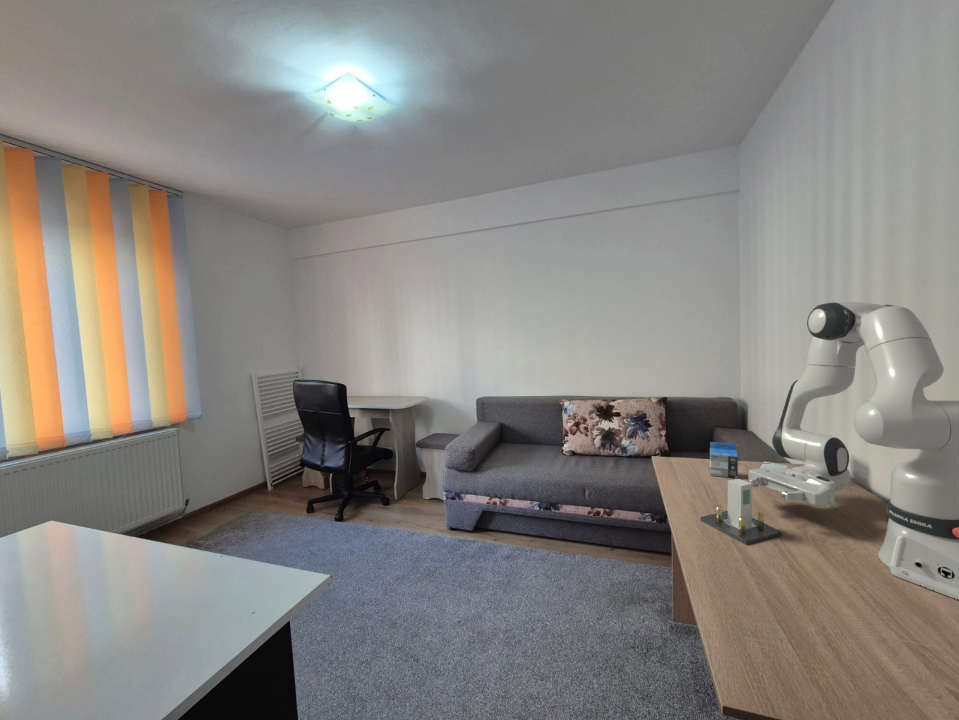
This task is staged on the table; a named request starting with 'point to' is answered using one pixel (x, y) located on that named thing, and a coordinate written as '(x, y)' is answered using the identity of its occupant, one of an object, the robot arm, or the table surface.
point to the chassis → (741, 527)
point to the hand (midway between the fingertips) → (767, 489)
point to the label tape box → (723, 460)
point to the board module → (739, 501)
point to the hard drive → (775, 467)
